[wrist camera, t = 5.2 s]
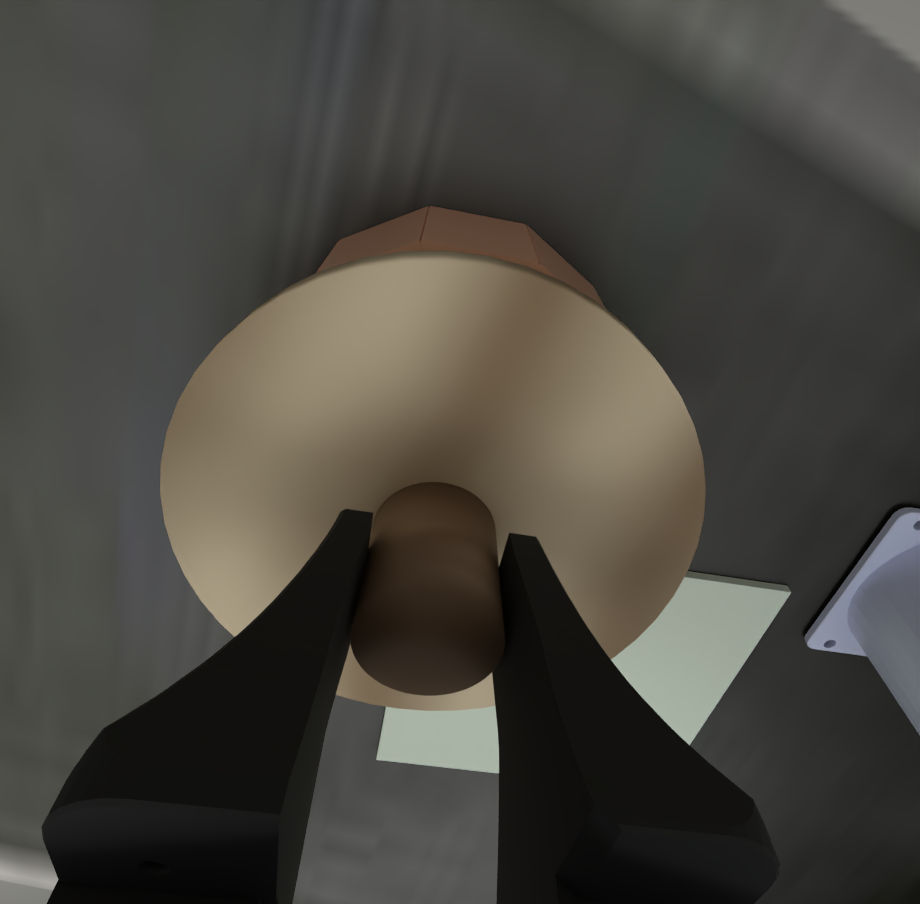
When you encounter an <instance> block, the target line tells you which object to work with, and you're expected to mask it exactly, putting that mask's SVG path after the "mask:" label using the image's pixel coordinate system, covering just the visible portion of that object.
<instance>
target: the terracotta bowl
mask: <svg viewBox="0 0 920 904" xmlns="http://www.w3.org/2000/svg"><path fill="white" fill-rule="evenodd" d="M404 251H453V252H461V253H469V254H477V255H485V256H490V257H494V258H498V259H501V260H505V261H509V262H513V263H517V264H520V265H524V266H527V267H530V268H532V269H535V270H537V271H539V272H542V273H544V274H547V275H549V276H551V277H554V278H556V279H559V280H561V281H563V282H565V283H567V284H568V285H570V286H572V287H573V288H575V289H577V290H578V291H580V292H582V293H584V294H585V295H587V296H589V297H590V298H592V299H594V300H595V301H597V302H598V303H599V304H601V305H602V306H603V307H604V305H603V303H602V301H601V299H600V297H599V296H598V294H597V292H596V290H595V288H594V287H593V286H592V285H591V284H590V283H589V282H588V281H587V280H586V279H585V278H584V277H583V276H582V275H581V274H579V273H578V272H577V271H576V270H575V269H574V268H573V267H572V266H571V265H570V264H569V263H568V262H567V261H565V260H564V259H563V258H562V257H561V256H560V255H559V254H558V253H557V252H556V251H555V250H554V249H553V248H551V247H550V246H549V245H548V244H547V243H546V242H545V241H544V240H543V239H542V238H541V237H540V236H539V235H538V234H536V233H535V232H534V231H533V230H532V229H531V228H530V227H529V226H528V225H526V224H523V223H518V222H512V221H507V220H502V219H497V218H492V217H486V216H481V215H476V214H471V213H466V212H461V211H455V210H450V209H445V208H440V207H435V206H430V207H429V206H426V207H424V208H421V209H419V210H416V211H413V212H411V213H408V214H406V215H403V216H400V217H398V218H395V219H392V220H390V221H387V222H385V223H382V224H379V225H377V226H374V227H371V228H369V229H366V230H364V231H361V232H358V233H356V234H353V235H350V236H348V237H345V238H343V239H340V240H339V241H338V242H337V243H336V245H335V246H334V248H333V249H332V250H331V252H330V253H329V255H328V256H327V257H326V259H325V260H324V261H323V263H322V264H321V266H320V267H319V268H318V270H317V271H316V273H318V272H320V271H322V270H325V269H327V268H330V267H334V266H337V265H340V264H344V263H347V262H351V261H354V260H357V259H361V258H364V257H370V256H377V255H383V254H390V253H397V252H404ZM316 273H315V274H316ZM604 308H605V307H604Z"/></svg>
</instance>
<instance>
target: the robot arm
mask: <svg viewBox="0 0 920 904" xmlns="http://www.w3.org/2000/svg"><path fill="white" fill-rule="evenodd" d="M372 519H373V513H372V512H365V511H358V510H351V509H344V510H343V511H341V512H340V513H339V515H338V517H337V519H336V521H335V522H334V524H333V526H332V527H331V529H330V531H329V532H328V534H327V535H326V537H325V538H324V540H323V541H322V542H321V544H320V545H319V547H318V548H317V549H316V551H315V552H314V553H313V555H312V556H311V557H310V558H309V560H308V561H307V562H306V564H305V565H304V566H303V567H302V569H301V570H300V571H299V572H298V573H297V575H296V576H295V577H294V578H293V579H292V580H291V581H290V583H289V584H288V585H287V586H286V587H285V588H284V589H283V590H282V591H281V593H280V594H279V595H278V596H277V597H276V598H275V599H274V600H273V601H272V602H271V603H270V604H269V605H268V606H267V607H266V608H265V609H264V610H263V611H262V612H261V613H260V614H259V615H258V616H257V617H256V618H255V619H254V620H253V621H252V622H251V623H250V624H249V625H248V626H247V627H246V628H244V629H243V630H242V631H241V632H240V633H239V634H238V635H236V636H235V637H234V638H233V639H232V640H231V641H229V642H228V643H227V644H226V645H225V646H223V647H222V648H221V649H220V650H219V651H218V652H216V653H215V654H214V655H213V656H211V657H210V658H209V659H207V660H206V661H205V662H204V663H202V664H201V665H200V666H198V667H197V668H195V669H194V670H193V671H191V672H190V673H188V674H187V675H186V676H184V677H183V678H181V679H180V680H179V681H177V682H176V683H174V684H173V685H172V686H170V687H169V688H168V689H166V690H165V691H163V692H162V693H160V694H159V695H157V696H156V697H154V698H153V699H151V700H149V701H148V702H146V703H144V704H143V705H141V706H140V707H138V708H136V709H135V710H133V711H131V712H130V713H128V714H127V715H125V716H123V717H122V718H120V719H118V720H117V721H115V722H114V723H112V724H110V725H108V726H107V727H105V728H104V729H103V730H102V731H101V732H100V734H99V735H98V736H97V737H96V739H95V740H94V741H93V743H92V744H91V745H90V746H89V748H88V749H87V750H86V752H85V753H84V755H83V756H82V758H81V759H80V761H79V762H78V763H77V765H76V766H75V767H74V769H73V770H72V772H71V774H70V775H69V777H68V778H67V780H66V782H65V784H64V786H63V788H62V789H61V791H60V793H59V795H58V797H57V799H56V801H55V803H54V805H53V806H52V808H51V810H50V812H49V814H48V816H47V818H46V820H45V821H44V823H43V825H42V835H43V840H44V843H45V845H46V848H47V851H48V853H49V856H50V858H51V861H52V864H53V866H54V869H55V871H56V874H57V876H58V879H59V880H58V882H57V884H56V886H55V888H54V890H53V892H52V894H51V896H50V898H49V900H48V902H47V904H292V902H293V897H294V892H295V886H296V881H297V876H298V871H299V865H300V860H301V855H302V850H303V844H304V839H305V834H306V829H307V823H308V818H309V813H310V808H311V803H312V798H313V792H314V787H315V782H316V777H317V772H318V767H319V762H320V757H321V752H322V747H323V742H324V736H325V732H326V728H327V724H328V720H329V716H330V712H331V709H332V705H333V702H334V698H335V695H336V692H337V688H338V685H339V681H340V678H341V675H342V671H343V668H344V664H345V661H346V658H347V654H348V651H349V647H350V644H351V642H350V636H351V629H352V624H353V619H354V614H355V610H356V605H357V600H358V595H359V591H360V587H361V583H362V579H363V574H364V569H365V564H366V559H367V555H368V550H369V542H370V535H371V527H372ZM917 521H919V522H917ZM916 522H917V523H916ZM499 574H500V585H501V597H502V608H503V620H504V632H505V648H504V653H503V656H502V658H501V660H500V662H499V664H498V665H497V667H496V668H495V669H494V670H493V672H492V676H493V687H494V697H495V707H496V718H497V728H498V743H499V832H498V874H497V904H754V903H755V902H756V901H757V900H758V899H759V898H760V897H761V896H762V895H763V894H764V893H765V892H766V891H767V890H768V889H769V888H770V887H771V885H772V884H773V883H774V881H775V880H776V878H777V876H778V874H779V867H780V863H779V860H778V858H777V855H776V853H775V850H774V847H773V845H772V842H771V839H770V836H769V834H768V831H767V829H766V826H765V824H764V822H763V820H762V817H761V815H760V813H759V811H758V809H757V807H756V805H755V803H754V800H753V799H752V798H751V797H750V796H748V795H747V794H746V793H745V792H744V791H742V790H741V789H740V788H739V787H737V786H736V785H735V784H734V783H733V782H731V781H730V780H729V779H728V778H727V777H725V776H724V775H723V774H722V773H720V772H719V771H718V770H717V769H716V768H714V767H713V766H712V765H711V764H710V763H708V762H707V761H706V760H705V759H704V758H703V757H702V756H701V755H699V754H698V753H697V752H696V751H695V750H694V749H693V748H692V747H691V746H690V745H689V744H688V743H687V742H685V741H684V740H683V739H682V738H681V737H680V736H679V735H678V734H677V733H676V732H675V731H674V730H673V729H672V728H671V727H670V726H669V725H668V724H667V723H666V722H665V721H664V720H663V719H662V718H661V717H660V716H659V715H658V714H657V713H656V712H655V711H654V709H653V708H652V707H651V706H650V705H649V704H648V703H647V702H646V701H645V700H644V699H643V698H642V697H641V696H640V695H639V693H638V692H637V691H636V690H635V689H634V688H633V687H632V685H631V684H630V683H629V682H628V681H627V680H626V678H625V677H624V676H623V675H622V673H621V672H620V671H619V670H618V668H617V667H616V666H615V665H614V663H613V662H612V661H611V659H610V658H609V657H608V655H607V654H606V653H605V651H604V650H603V648H602V647H601V646H600V644H599V643H598V641H597V640H596V638H595V637H594V635H593V634H592V633H591V631H590V630H589V628H588V627H587V625H586V624H585V622H584V620H583V619H582V617H581V616H580V614H579V612H578V611H577V609H576V608H575V606H574V604H573V603H572V601H571V599H570V598H569V596H568V594H567V593H566V591H565V589H564V587H563V586H562V584H561V582H560V580H559V578H558V577H557V575H556V573H555V571H554V569H553V567H552V565H551V563H550V562H549V560H548V558H547V556H546V554H545V552H544V550H543V548H542V546H541V544H540V542H539V540H538V539H537V537H536V536H529V535H522V534H515V533H509V535H508V538H507V542H506V545H505V548H504V552H503V555H502V559H501V562H500V565H499ZM804 639H805V642H806V644H807V645H808V646H809V647H810V648H812V649H817V650H825V651H832V652H839V653H847V654H854V655H861V656H867V657H868V658H869V660H870V661H871V663H872V664H873V666H874V667H875V669H876V670H877V672H878V673H879V675H880V676H881V678H882V679H883V681H884V682H885V684H886V685H887V687H888V688H889V690H890V691H891V693H892V694H893V696H894V697H895V699H896V700H897V702H898V703H899V705H900V706H901V708H902V709H903V711H904V712H905V714H906V715H907V717H908V718H909V720H910V722H911V723H912V725H913V726H914V728H915V729H916V731H917V732H918V734H919V735H920V509H917V508H902V509H899V510H898V511H896V512H895V513H894V514H893V515H892V516H891V517H890V519H889V520H888V521H887V523H886V524H885V526H884V527H883V528H882V530H881V531H880V533H879V534H878V535H877V537H876V538H875V539H874V541H873V542H872V544H871V545H870V546H869V548H868V549H867V550H866V552H865V553H864V555H863V556H862V557H861V559H860V560H859V562H858V563H857V564H856V566H855V567H854V568H853V570H852V571H851V573H850V574H849V575H848V577H847V578H846V580H845V581H844V582H843V584H842V585H841V586H840V588H839V589H838V591H837V592H836V593H835V595H834V596H833V597H832V599H831V600H830V602H829V603H828V604H827V606H826V607H825V609H824V610H823V611H822V613H821V614H820V615H819V617H818V618H817V620H816V621H815V622H814V624H813V625H812V627H811V628H810V629H809V631H808V632H807V633H806V635H805V637H804Z"/></svg>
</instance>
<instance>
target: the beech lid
mask: <svg viewBox="0 0 920 904" xmlns="http://www.w3.org/2000/svg"><path fill="white" fill-rule="evenodd" d="M160 494H161V501H162V508H163V515H164V522H165V526H166V529H167V532H168V535H169V539H170V542H171V545H172V549H173V551H174V553H175V556H176V558H177V560H178V562H179V564H180V566H181V568H182V570H183V573H184V575H185V577H186V578H187V580H188V581H189V583H190V584H191V586H192V588H193V589H194V591H195V592H196V594H197V595H198V597H199V598H200V600H201V601H202V602H203V604H204V605H205V606H206V607H207V608H208V610H209V611H210V612H211V613H212V614H213V616H214V617H215V618H216V619H217V620H218V621H219V623H220V624H221V625H223V626H224V627H225V628H226V629H227V630H228V631H229V632H230V633H231V634H232V635H233V636H234V637H235V636H236V635H238V634H239V633H240V632H241V631H242V630H243V629H244V628H246V627H247V626H248V625H249V624H250V623H251V622H252V621H253V620H254V619H255V618H256V617H257V616H258V615H259V614H260V613H261V612H262V611H263V610H264V609H265V608H266V607H267V606H268V605H269V604H270V603H271V602H272V601H273V600H274V599H275V598H276V597H277V596H278V595H279V594H280V593H281V591H282V590H283V589H284V588H285V587H286V586H287V585H288V584H289V583H290V581H291V580H292V579H293V578H294V577H295V576H296V575H297V573H298V572H299V571H300V570H301V569H302V567H303V566H304V565H305V564H306V562H307V561H308V560H309V558H310V557H311V556H312V555H313V553H314V552H315V551H316V549H317V548H318V547H319V545H320V544H321V542H322V541H323V540H324V538H325V537H326V535H327V534H328V532H329V531H330V529H331V527H332V526H333V524H334V522H335V521H336V519H337V517H338V515H339V513H340V512H341V511H343V510H344V509H351V510H358V511H365V512H372V513H373V519H372V527H371V535H370V542H369V550H368V555H367V559H366V564H365V569H364V574H363V579H362V583H361V587H360V591H359V595H358V600H357V605H356V610H355V614H354V619H353V624H352V629H351V636H350V642H351V644H350V647H349V651H348V654H347V658H346V661H345V664H344V668H343V671H342V675H341V678H340V681H339V685H338V688H337V692H336V695H339V696H342V697H345V698H349V699H353V700H357V701H361V702H365V703H368V704H374V705H380V706H386V707H392V708H398V709H410V710H422V711H457V710H467V709H478V708H486V707H492V706H495V697H494V687H493V676H492V672H493V670H494V669H495V668H496V667H497V665H498V664H499V662H500V660H501V658H502V656H503V653H504V648H505V632H504V620H503V608H502V597H501V585H500V574H499V565H500V562H501V559H502V555H503V552H504V548H505V545H506V542H507V538H508V535H509V533H515V534H522V535H529V536H536V537H537V539H538V540H539V542H540V544H541V546H542V548H543V550H544V552H545V554H546V556H547V558H548V560H549V562H550V563H551V565H552V567H553V569H554V571H555V573H556V575H557V577H558V578H559V580H560V582H561V584H562V586H563V587H564V589H565V591H566V593H567V594H568V596H569V598H570V599H571V601H572V603H573V604H574V606H575V608H576V609H577V611H578V612H579V614H580V616H581V617H582V619H583V620H584V622H585V624H586V625H587V627H588V628H589V630H590V631H591V633H592V634H593V635H594V637H595V638H596V640H597V641H598V643H599V644H600V646H601V647H602V648H603V650H604V651H605V653H606V654H607V655H608V657H609V658H610V659H612V658H614V657H615V656H617V655H618V654H619V653H620V652H621V651H623V650H624V649H625V648H626V647H628V646H629V645H630V644H631V643H633V642H634V641H635V640H636V639H637V638H638V637H639V636H640V635H641V634H642V633H643V632H644V631H645V630H646V629H647V628H648V627H649V626H650V625H651V624H652V623H653V622H654V621H655V620H656V619H657V618H658V616H659V615H660V614H661V612H662V611H663V610H664V608H665V607H666V606H667V604H668V603H669V602H670V600H671V599H672V598H673V596H674V595H675V593H676V591H677V589H678V588H679V586H680V584H681V582H682V580H683V579H684V577H685V575H686V573H687V571H688V569H689V566H690V564H691V561H692V559H693V556H694V554H695V551H696V548H697V546H698V542H699V537H700V533H701V528H702V524H703V519H704V509H705V494H706V484H705V473H704V463H703V456H702V452H701V448H700V444H699V441H698V437H697V433H696V430H695V426H694V424H693V422H692V419H691V417H690V415H689V413H688V411H687V408H686V406H685V404H684V402H683V400H682V397H681V395H680V394H679V392H678V391H677V389H676V388H675V386H674V385H673V383H672V382H671V380H670V379H669V377H668V376H667V374H666V373H665V371H664V370H663V368H662V367H661V365H660V364H659V363H658V362H657V360H656V359H655V358H654V356H653V355H652V354H651V353H650V351H649V350H648V349H647V348H646V347H645V346H644V345H643V344H642V342H641V341H640V340H639V339H638V338H637V337H636V336H635V335H634V334H633V333H632V331H631V330H630V329H629V328H628V327H627V326H626V325H625V324H624V323H623V322H621V321H620V320H619V319H618V318H617V317H615V316H614V315H613V314H612V313H610V312H609V311H608V310H607V309H605V308H604V307H603V306H602V305H601V304H599V303H598V302H597V301H595V300H594V299H592V298H590V297H589V296H587V295H585V294H584V293H582V292H580V291H578V290H577V289H575V288H573V287H572V286H570V285H568V284H567V283H565V282H563V281H561V280H559V279H556V278H554V277H551V276H549V275H547V274H544V273H542V272H539V271H537V270H535V269H532V268H530V267H527V266H524V265H520V264H517V263H513V262H509V261H505V260H501V259H498V258H494V257H490V256H485V255H477V254H469V253H461V252H453V251H404V252H397V253H390V254H383V255H377V256H370V257H364V258H361V259H357V260H354V261H351V262H347V263H344V264H340V265H337V266H334V267H330V268H327V269H325V270H322V271H320V272H318V273H316V274H314V275H311V276H309V277H307V278H305V279H303V280H300V281H298V282H296V283H294V284H292V285H290V286H288V287H287V288H285V289H284V290H282V291H281V292H279V293H278V294H276V295H275V296H273V297H271V298H270V299H268V300H267V301H265V302H264V303H262V304H261V305H259V306H258V307H257V308H256V309H255V310H254V311H253V312H251V313H250V314H249V315H248V316H247V317H246V318H245V319H244V320H242V321H241V322H240V323H239V324H238V325H237V326H236V327H235V328H233V329H232V330H231V331H230V332H229V333H228V334H227V335H226V336H225V337H224V338H223V339H222V340H221V341H220V342H219V343H218V344H217V345H216V347H215V348H214V349H213V350H212V352H211V353H210V354H209V355H208V356H207V358H206V359H205V360H204V361H203V363H202V364H201V365H200V366H199V367H198V369H197V370H196V371H195V373H194V374H193V376H192V378H191V380H190V381H189V383H188V385H187V386H186V388H185V390H184V392H183V393H182V395H181V397H180V399H179V400H178V403H177V405H176V408H175V411H174V413H173V416H172V419H171V422H170V424H169V427H168V430H167V433H166V438H165V444H164V449H163V454H162V460H161V485H160Z"/></svg>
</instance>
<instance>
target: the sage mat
mask: <svg viewBox="0 0 920 904" xmlns="http://www.w3.org/2000/svg"><path fill="white" fill-rule="evenodd" d="M790 594H791V591H790V589H789V588H788V586H787V585H780V584H773V583H766V582H759V581H752V580H745V579H738V578H732V577H725V576H718V575H711V574H704V573H697V572H690V571H687V573H686V575H685V577H684V579H683V580H682V582H681V584H680V586H679V588H678V589H677V591H676V593H675V595H674V596H673V598H672V599H671V600H670V602H669V603H668V604H667V606H666V607H665V608H664V610H663V611H662V612H661V614H660V615H659V616H658V618H657V619H656V620H655V621H654V622H653V623H652V624H651V625H650V626H649V627H648V628H647V629H646V630H645V631H644V632H643V633H642V634H641V635H640V636H639V637H638V638H637V639H636V640H635V641H634V642H633V643H631V644H630V645H629V646H628V647H626V648H625V649H624V650H623V651H621V652H620V653H619V654H618V655H617V656H615V657H614V658H612V659H611V661H612V662H613V663H614V665H615V666H616V667H617V668H618V670H619V671H620V672H621V673H622V675H623V676H624V677H625V678H626V680H627V681H628V682H629V683H630V684H631V685H632V687H633V688H634V689H635V690H636V691H637V692H638V693H639V695H640V696H641V697H642V698H643V699H644V700H645V701H646V702H647V703H648V704H649V705H650V706H651V707H652V708H653V709H654V711H655V712H656V713H657V714H658V715H659V716H660V717H661V718H662V719H663V720H664V721H665V722H666V723H667V724H668V725H669V726H670V727H671V728H672V729H673V730H674V731H675V732H676V733H677V734H678V735H679V736H680V737H681V738H682V739H683V740H684V741H685V742H687V743H688V744H689V745H690V744H691V742H692V741H693V739H694V738H695V736H696V735H697V733H698V732H699V730H700V729H701V727H702V726H703V724H704V723H705V721H706V720H707V718H708V717H709V715H710V714H711V712H712V711H713V709H714V708H715V706H716V705H717V703H718V702H719V700H720V699H721V697H722V696H723V694H724V693H725V691H726V690H727V688H728V687H729V685H730V684H731V682H732V681H733V679H734V678H735V676H736V675H737V673H738V672H739V670H740V669H741V667H742V666H743V664H744V663H745V661H746V660H747V658H748V657H749V655H750V654H751V652H752V651H753V649H754V648H755V646H756V645H757V643H758V642H759V640H760V639H761V637H762V636H763V634H764V633H765V631H766V630H767V628H768V627H769V625H770V624H771V622H772V621H773V619H774V618H775V616H776V615H777V613H778V612H779V610H780V609H781V607H782V606H783V604H784V603H785V601H786V600H787V598H788V597H789V595H790ZM376 760H384V761H393V762H401V763H410V764H419V765H428V766H437V767H446V768H455V769H464V770H473V771H482V772H491V773H499V743H498V728H497V718H496V707H495V706H492V707H486V708H478V709H467V710H457V711H422V710H410V709H398V708H392V707H386V709H385V714H384V719H383V725H382V730H381V735H380V741H379V746H378V751H377V758H376Z"/></svg>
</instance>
